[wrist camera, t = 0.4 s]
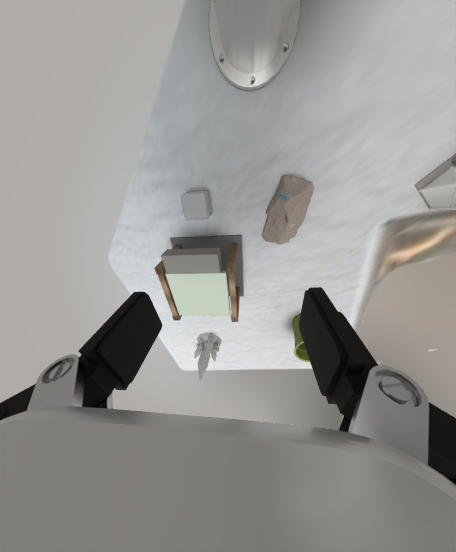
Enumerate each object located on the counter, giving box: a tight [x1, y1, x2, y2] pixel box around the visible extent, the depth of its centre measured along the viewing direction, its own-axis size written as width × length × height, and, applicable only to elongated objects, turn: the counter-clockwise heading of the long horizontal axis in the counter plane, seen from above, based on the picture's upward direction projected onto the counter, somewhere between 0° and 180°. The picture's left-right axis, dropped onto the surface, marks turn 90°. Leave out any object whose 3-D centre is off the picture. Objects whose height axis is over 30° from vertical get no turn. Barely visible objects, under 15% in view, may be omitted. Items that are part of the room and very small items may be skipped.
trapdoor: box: [161, 248, 230, 316], centre depth 36 cm, size 17×13×3 cm
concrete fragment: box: [262, 175, 314, 244], centre depth 35 cm, size 7×14×6 cm, turn 167°
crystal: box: [195, 333, 221, 380], centre depth 60 cm, size 10×13×15 cm
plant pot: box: [293, 315, 310, 362], centre depth 50 cm, size 12×12×11 cm
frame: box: [155, 243, 240, 322], centre depth 42 cm, size 16×17×13 cm
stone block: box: [180, 190, 212, 220], centre depth 36 cm, size 5×5×5 cm
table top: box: [170, 235, 243, 296], centre depth 47 cm, size 20×19×1 cm
